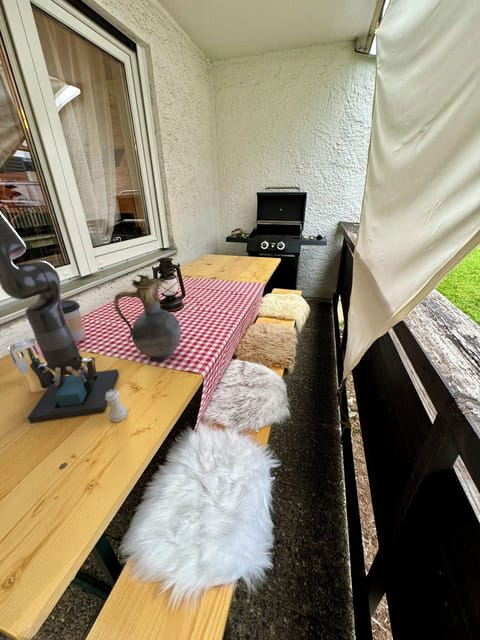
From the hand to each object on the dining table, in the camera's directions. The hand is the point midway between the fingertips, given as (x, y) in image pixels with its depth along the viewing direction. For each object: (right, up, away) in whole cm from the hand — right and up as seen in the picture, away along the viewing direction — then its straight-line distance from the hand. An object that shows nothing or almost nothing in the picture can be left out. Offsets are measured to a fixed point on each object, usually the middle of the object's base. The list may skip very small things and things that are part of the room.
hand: (77, 391), depth 73 cm
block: (0, 0, 0) cm, 1 cm away
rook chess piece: (+15, -5, -6) cm, 17 cm away
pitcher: (+17, +8, +18) cm, 26 cm away
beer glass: (-14, 0, +5) cm, 15 cm away
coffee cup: (-19, +13, +30) cm, 37 cm away
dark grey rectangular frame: (0, -2, +1) cm, 2 cm away
